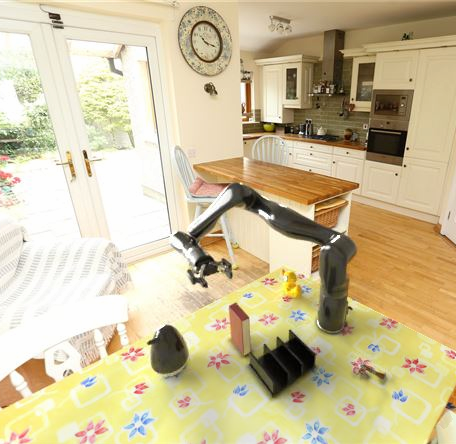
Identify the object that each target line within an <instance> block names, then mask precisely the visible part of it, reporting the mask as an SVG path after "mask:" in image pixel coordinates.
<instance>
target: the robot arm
mask: <svg viewBox="0 0 456 444" xmlns="http://www.w3.org/2000/svg"><path fill="white" fill-rule="evenodd" d="M233 208H237V209H240V210H243V211H247V212H249V213H251V214H254V215H256V216H258V217H259V218H261V219H262V220H263V222H265V223H266V225H267V226H268V227H270V228H271V229H272V230H273V231H275V232H277V233H279V234H280V235H282V236H284V237H286V238H287V239H288V238H289V239H292V240H297V241H303V242H309V243H312V244H315V245H317V246H320V249H319V254H318V255H319V256H318V276H319V279H320V281H319V282H320V283H319V293H318V295H319V297H318V307H317V319H316V325H317V327H318V328H319V330H321V331H322V332H325V333H327V334H338V333H340V332H342V331H343V330H344V328H345V324H347V317H348V315H349V310H350V311H353V307H352V306H350V305H349V301H348V296H349V288H350V276H349V274H348V273H347V269H348V268H347V267H348V264H349V263H350V262H351V261H352V260H353V259H354V258H355V257H356V256H357V254H358V246H357V244H356V242H355V241H354V240H353V239H352V238H351V237H350V236H348V235H347V234H344V233H342V232H340V231H337V230H334V229H332V228H329V227H328V226H324V225H323V224H320V223H318V222H316V221H314V220H313V219H311V218H310V217H307V216H306V215H303V214H301V213H299V212H298V211H296V210H295V209H292V208H291V207H289V206H286V205H284V204H282V203H280V202H277V201H274V200H271V199H269V198H267V197H265V196H264V195H263V194H261V193H259V191H257V190H256V189H254V188H253V187H251V186H249V185H247V184H245V183H242V182H239V181H234V182H232V183H229V184H228V185H227V186H226V187H225V188H224V189H223V190H222V192H220V194H219V196H217V198H215V200H214V202H212V204H211V205H210V206H209V207H208V208H207V209H206V210H205V211H204V212H203V213H202V214H201V215H199V217H197V218H196V219H195V220H194V221H192V223H191V224H189V226H188V227H187V233H186V232H185V231H181V230H177V231H174V232H172V234H171V235H170V237H169V244H170V245H169V246H171V248H172V249H173V250H175V251H176V252H178V253H179V254H180V255H182V256H183V258H184V260H186V262H187V263H188V265H189V266H190V267H191V268H192V270H191V269H187V270H186V276H187V278H188V280H189V282H190V284H191V285H193V286H195V285H196V284H199V286H201V288H204V289H208V288H209V283H208V281H207V280H206V279H205V278H206V277H209V276H211V275H216V274H217V275H222V274H225V276H226V277H227V278H228V279H229V280H232V279H233V277H234V274H233V264H232V263H231V262H230V261H228V260H227V258H225V257H222V258H220V259H221V260H219V261H217V260H215V259H214V257H213V256H212V255H211V254H210V253H209V252H208V251H207V250H206V249H205V248H203V247H202V246H201V245H200V243H201V241H202V240H203V238H205V237H206V236H208V234H210V233H211V232H212V231H213V230H214V229H215V228H216V226H217V225H218V223H219V221H220V219H221V218H222V216H223V215H224V214H225V213H226V212H228V211H230V210H232V209H233ZM195 275H197V277H196V276H195Z"/></svg>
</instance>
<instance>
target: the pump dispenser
mask: <svg viewBox="0 0 456 444" xmlns="http://www.w3.org/2000/svg"><path fill="white" fill-rule="evenodd" d="M146 345H147V346H150V350H149V360H150V366H151V368H152V370H153V371H154V372H155V373H156V374H157V375H159V376H161V377H166V378H167V377H169V378H170V377H173V376H175V375H178V374H179V373H180V372H182V371H183V370H184V369H185V367H186V365H187V364H188V360H189V357H190V351H189V347H188V344H187V342H186V339H185V338H184V335H183V334H182V333H181V332H180V331H179V330H178V328H177V327H175V326H174V325H172V324H169V323H167V324H162V325H160V326H159V327H158V328H157V329H156V330H155V332H154V334H153V336H152V338H151V339H149V340H147V341H146Z"/></svg>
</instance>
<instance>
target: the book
mask: <svg viewBox="0 0 456 444" xmlns="http://www.w3.org/2000/svg"><path fill="white" fill-rule="evenodd" d="M228 315H229V317H228V318H229V325H230V326H229V328H230V329H229V330H230V339H231V342H232V343H233V344H234V346H235V347H236V348H237V350H238V351H239V352H240V354H241V355H242V356H243V357H245V356H247V355H249V352H252V348H251V347H252V346H251V345H252V344H251V330H250V329H251V325H250V316H249V315H248V314H247V313H246V312H245V311H244V309H243V308H242V307H241V306H240V305H239V304H238V303H237V302H234V303H231V304H230V305H228Z"/></svg>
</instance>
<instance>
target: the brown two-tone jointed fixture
mask: <svg viewBox="0 0 456 444" xmlns="http://www.w3.org/2000/svg"><path fill="white" fill-rule="evenodd" d="M365 371H367V373H366V372H365ZM369 373H370V374H371V375H373V376H376V377H378V378H379V379H381V382H382V383H383V382H385V381H386V380H387V379H388V378H387V373H386V372H380V371H376V370H375V369H373V368H372V367H370V366H367V364H366V363H365V364H364V363H363V362H362V363H359V369H357V370H356V372H355V375H356V376H358V375H361V376H362V377H363V378H365V379H367V378H369V377H370V376H369Z"/></svg>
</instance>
